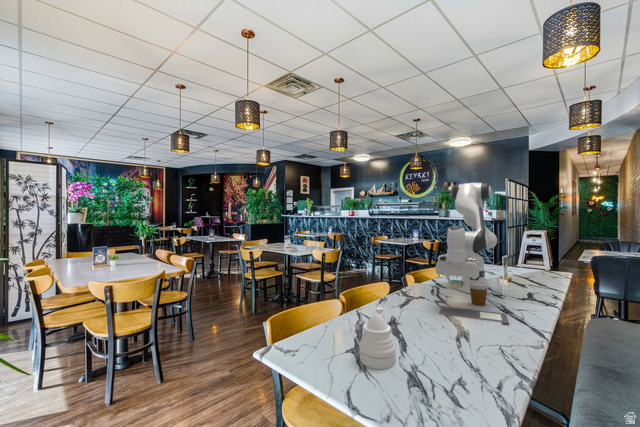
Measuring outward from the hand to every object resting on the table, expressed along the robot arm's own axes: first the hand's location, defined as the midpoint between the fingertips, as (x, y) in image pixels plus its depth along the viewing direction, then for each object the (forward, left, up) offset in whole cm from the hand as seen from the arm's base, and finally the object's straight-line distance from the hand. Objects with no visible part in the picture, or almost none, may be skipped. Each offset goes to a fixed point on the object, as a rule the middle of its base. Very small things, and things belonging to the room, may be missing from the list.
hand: (456, 284), depth 153 cm
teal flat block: (0, 0, -1) cm, 1 cm away
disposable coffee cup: (-19, +10, -15) cm, 26 cm away
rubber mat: (0, +7, -15) cm, 16 cm away
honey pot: (+63, -23, -15) cm, 69 cm away
